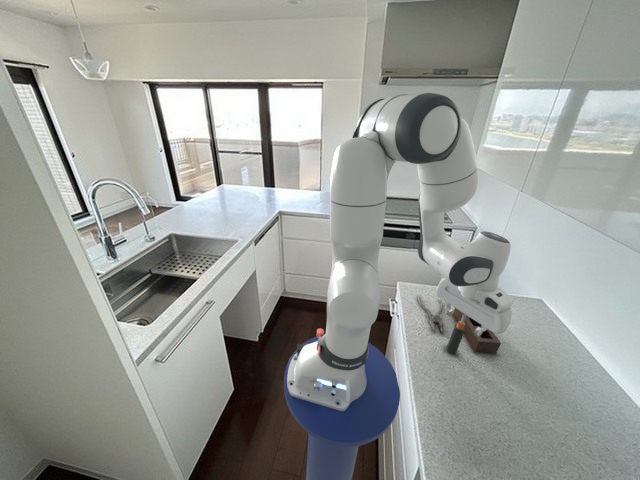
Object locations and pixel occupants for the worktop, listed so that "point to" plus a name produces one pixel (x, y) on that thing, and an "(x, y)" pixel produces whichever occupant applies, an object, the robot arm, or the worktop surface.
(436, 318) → the pliers
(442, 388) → the worktop surface
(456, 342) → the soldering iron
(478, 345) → the holder
